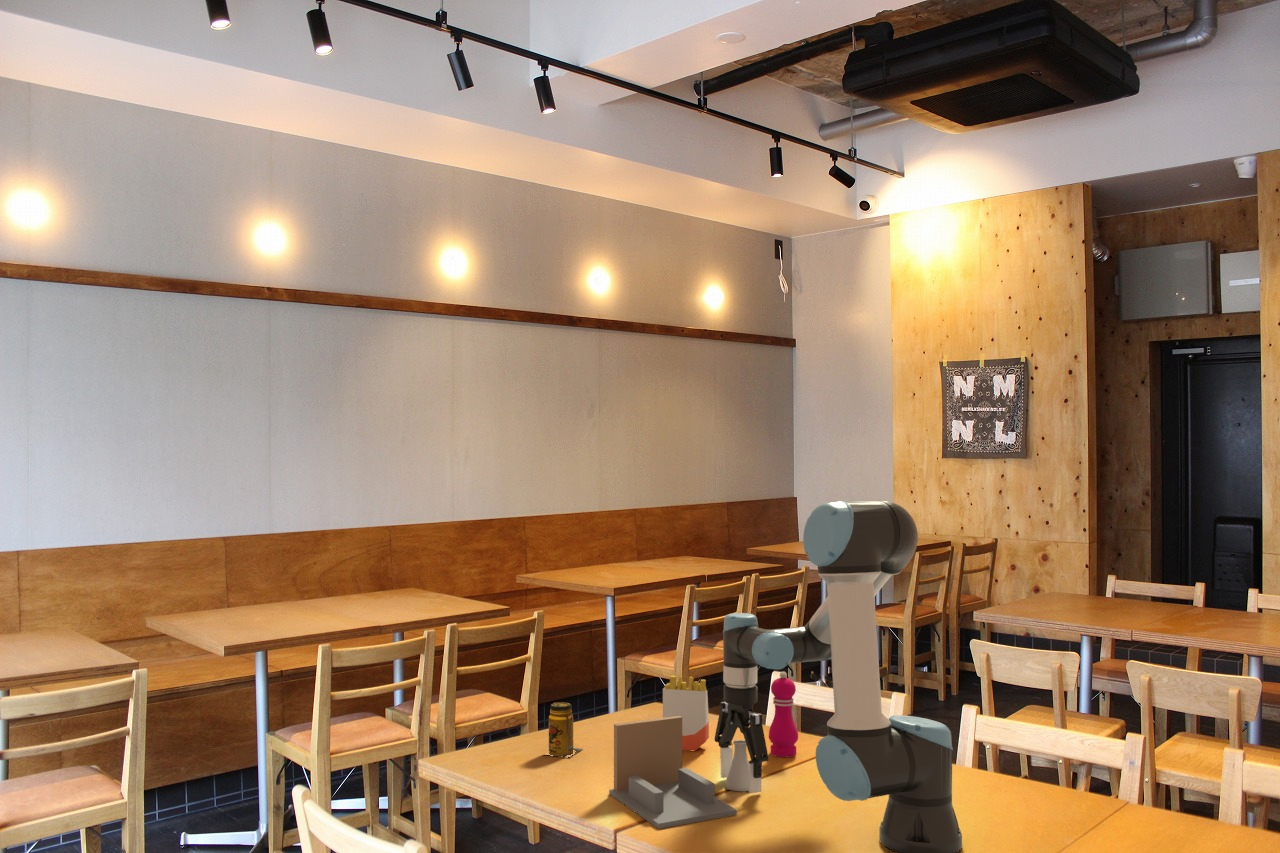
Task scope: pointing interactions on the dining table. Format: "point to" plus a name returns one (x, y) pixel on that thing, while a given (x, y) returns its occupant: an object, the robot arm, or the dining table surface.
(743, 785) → the flask
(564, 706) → the condiment
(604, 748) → the dining table surface
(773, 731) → the pepper mill
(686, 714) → the french fries container
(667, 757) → the shaker holder
